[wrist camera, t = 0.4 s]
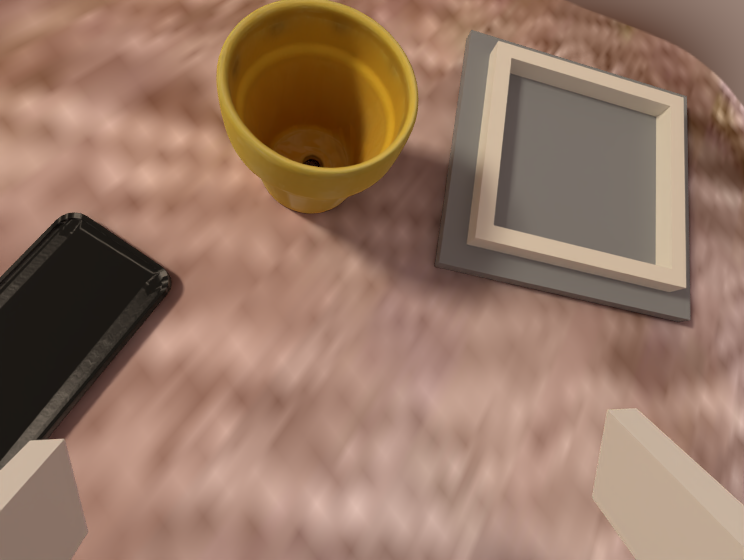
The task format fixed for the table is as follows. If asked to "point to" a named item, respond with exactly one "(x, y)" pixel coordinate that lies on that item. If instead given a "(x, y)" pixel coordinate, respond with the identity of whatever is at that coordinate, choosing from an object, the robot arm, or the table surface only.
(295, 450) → the table surface
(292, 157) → the plant pot
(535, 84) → the board
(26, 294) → the phone
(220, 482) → the table surface
